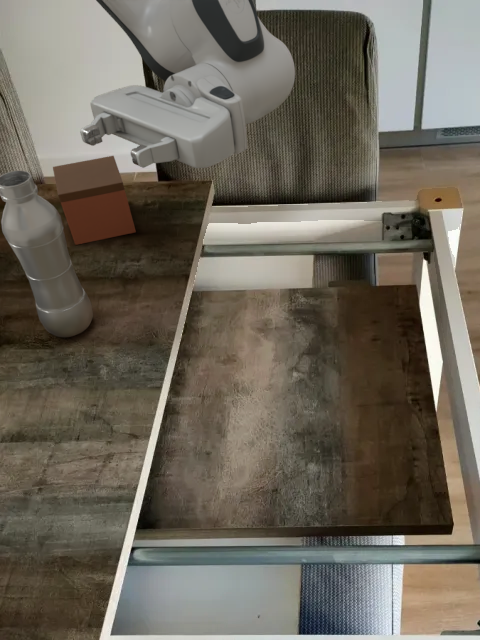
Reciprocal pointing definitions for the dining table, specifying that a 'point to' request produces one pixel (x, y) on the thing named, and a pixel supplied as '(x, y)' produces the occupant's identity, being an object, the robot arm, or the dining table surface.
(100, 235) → the step stand
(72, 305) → the plastic bottle
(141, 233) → the dining table surface
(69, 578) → the dining table surface
